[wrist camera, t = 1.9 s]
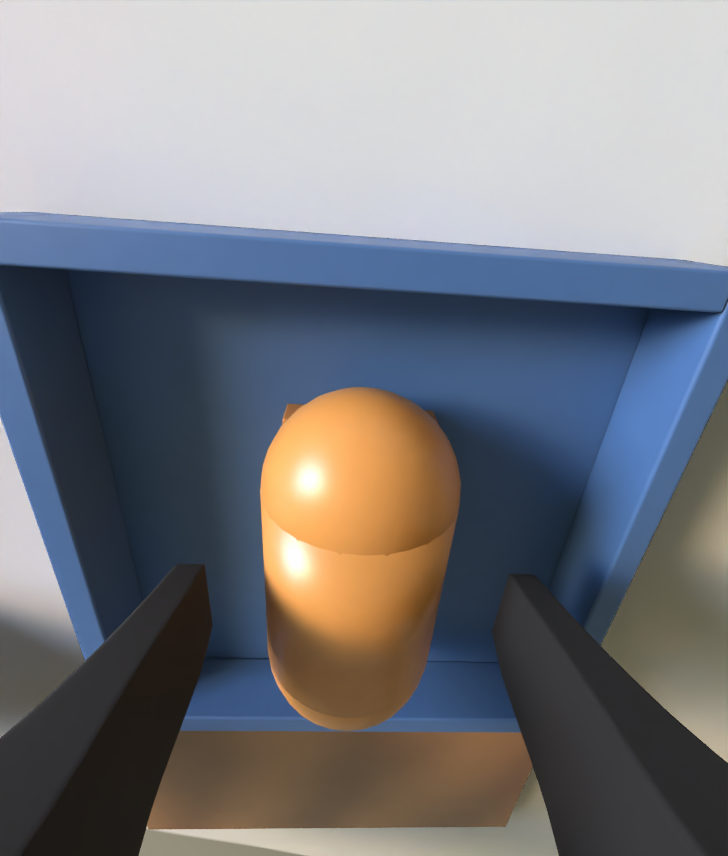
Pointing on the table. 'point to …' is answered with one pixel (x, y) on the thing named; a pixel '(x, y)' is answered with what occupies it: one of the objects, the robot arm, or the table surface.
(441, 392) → the bread tray
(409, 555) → the bread roll
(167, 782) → the bread board
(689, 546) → the table surface
